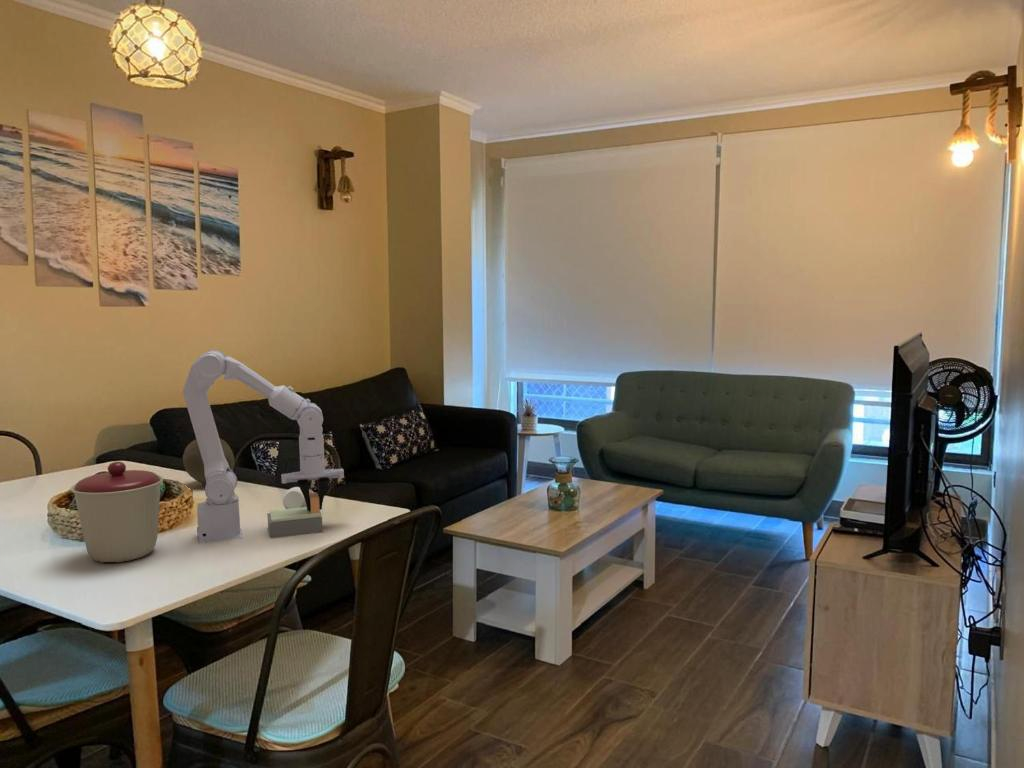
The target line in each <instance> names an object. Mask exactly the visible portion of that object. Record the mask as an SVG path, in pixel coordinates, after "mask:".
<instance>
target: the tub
mask: <svg viewBox="0 0 1024 768" xmlns="http://www.w3.org/2000/svg"><path fill="white" fill-rule="evenodd" d="M266 517H267V530H268V533H269V534H268V535H269V539H274V538H283V537H290V536H302V535H307V534H308V535H309V534H317V533H318V534H319V533H323V531H324V530H323V516H322V517H316V518H307V519H298V520H289V521H280V522H271V517H270V512H269V513H267V516H266Z"/></svg>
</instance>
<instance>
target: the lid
mask: <svg viewBox="0 0 1024 768" xmlns="http://www.w3.org/2000/svg"><path fill="white" fill-rule="evenodd" d="M309 499H310V511H307V507H301V508H291V509H286V508H284V509H283V508H282V509H275V510H269V513H270V517H271V522H280V521H289V520H298V519H307V518H316V517H322V518H323V516H322V512H321V510H320V507H319V496H318V491H317V492H314V493H309Z"/></svg>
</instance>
